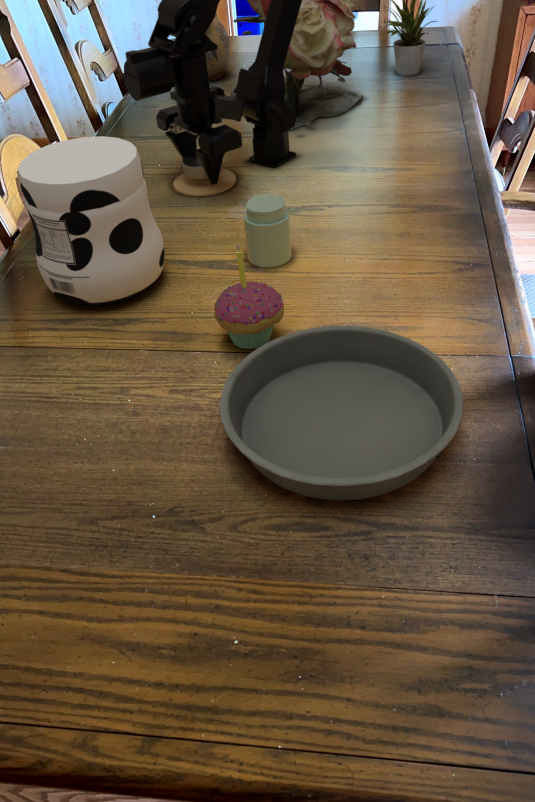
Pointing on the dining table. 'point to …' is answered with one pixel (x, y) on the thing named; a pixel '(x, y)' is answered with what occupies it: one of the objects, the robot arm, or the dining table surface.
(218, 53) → the ceramic vessel
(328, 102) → the rose bouquet
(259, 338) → the cupcake
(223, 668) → the dining table surface
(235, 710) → the dining table surface
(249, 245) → the jar
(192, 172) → the lid
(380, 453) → the cake pan
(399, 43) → the house plant
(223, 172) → the coaster
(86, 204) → the milk container
